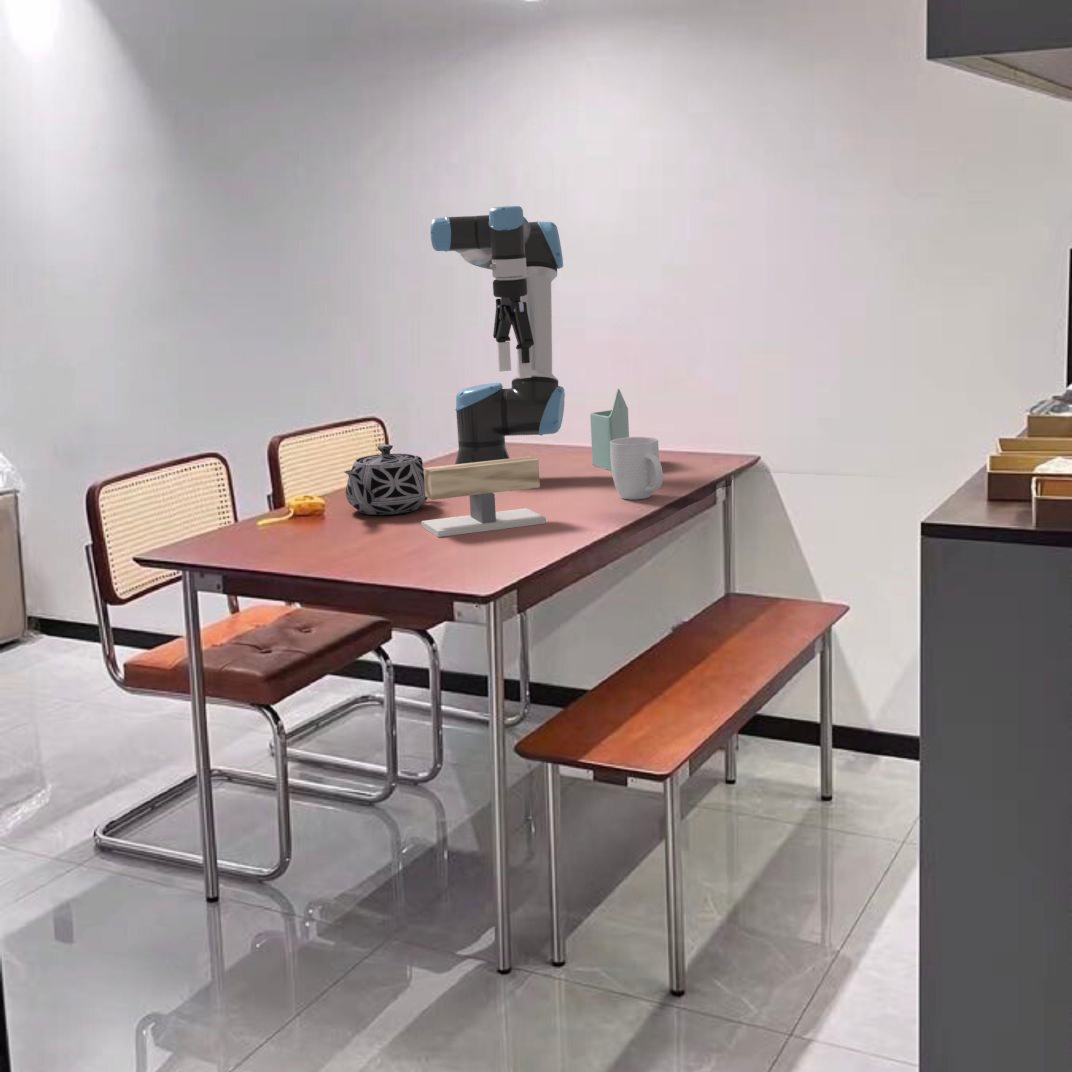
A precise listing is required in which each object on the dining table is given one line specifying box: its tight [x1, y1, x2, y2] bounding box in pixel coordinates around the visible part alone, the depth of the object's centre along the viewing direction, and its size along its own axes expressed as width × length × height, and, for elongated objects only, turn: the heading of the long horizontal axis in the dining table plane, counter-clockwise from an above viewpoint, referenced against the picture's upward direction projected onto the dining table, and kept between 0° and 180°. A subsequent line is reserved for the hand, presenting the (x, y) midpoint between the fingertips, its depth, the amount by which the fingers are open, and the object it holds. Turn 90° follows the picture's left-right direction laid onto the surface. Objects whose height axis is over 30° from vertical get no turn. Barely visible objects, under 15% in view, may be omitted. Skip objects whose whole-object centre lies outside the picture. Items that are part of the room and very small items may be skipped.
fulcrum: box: [421, 493, 547, 538], centre depth 314 cm, size 12×24×7 cm, turn 111°
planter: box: [589, 388, 630, 472], centre depth 377 cm, size 16×8×20 cm, turn 162°
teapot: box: [343, 444, 429, 516], centre depth 333 cm, size 19×31×15 cm, turn 153°
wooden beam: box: [423, 456, 541, 501], centre depth 312 cm, size 5×24×6 cm, turn 111°
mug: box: [610, 436, 664, 501], centre depth 333 cm, size 15×11×13 cm
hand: (514, 374), depth 329 cm, fingers open, 13 cm apart
